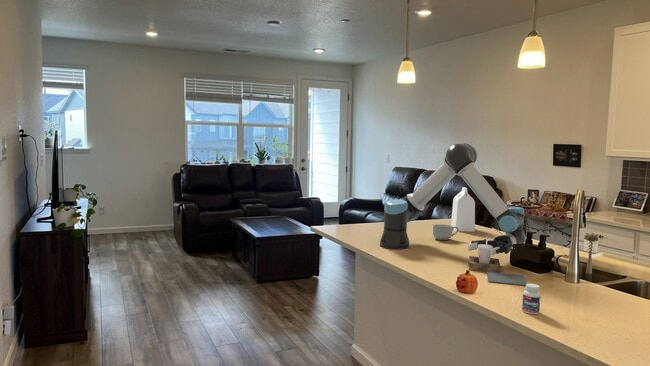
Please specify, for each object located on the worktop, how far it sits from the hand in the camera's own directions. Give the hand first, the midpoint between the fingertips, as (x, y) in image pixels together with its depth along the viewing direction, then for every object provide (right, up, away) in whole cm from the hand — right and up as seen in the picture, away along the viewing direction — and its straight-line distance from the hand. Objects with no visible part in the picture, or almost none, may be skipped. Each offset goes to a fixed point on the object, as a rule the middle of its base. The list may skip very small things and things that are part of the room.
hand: (479, 249), depth 204 cm
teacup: (0, -3, +60) cm, 60 cm away
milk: (+19, 0, +91) cm, 92 cm away
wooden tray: (+3, -8, +4) cm, 10 cm away
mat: (+6, -10, -13) cm, 17 cm away
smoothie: (+3, -8, +4) cm, 10 cm away
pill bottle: (+1, -14, -49) cm, 50 cm away
